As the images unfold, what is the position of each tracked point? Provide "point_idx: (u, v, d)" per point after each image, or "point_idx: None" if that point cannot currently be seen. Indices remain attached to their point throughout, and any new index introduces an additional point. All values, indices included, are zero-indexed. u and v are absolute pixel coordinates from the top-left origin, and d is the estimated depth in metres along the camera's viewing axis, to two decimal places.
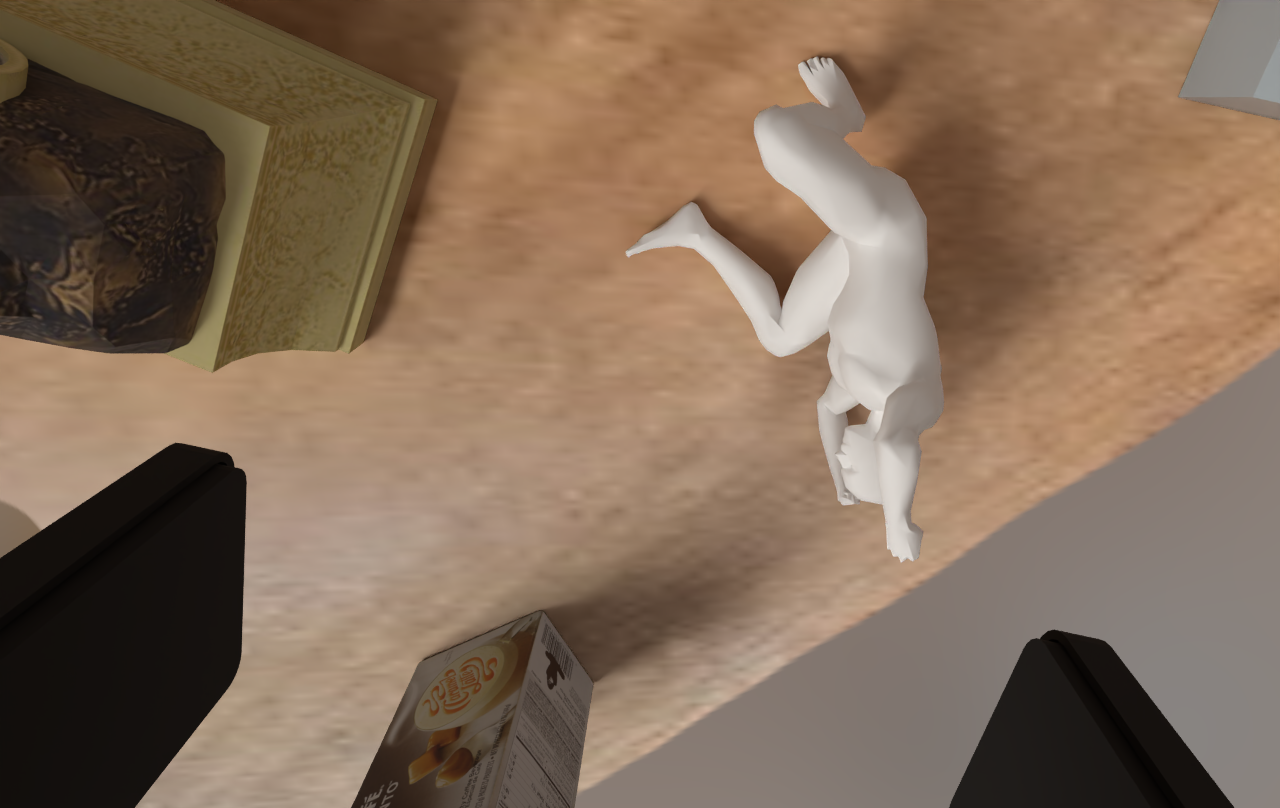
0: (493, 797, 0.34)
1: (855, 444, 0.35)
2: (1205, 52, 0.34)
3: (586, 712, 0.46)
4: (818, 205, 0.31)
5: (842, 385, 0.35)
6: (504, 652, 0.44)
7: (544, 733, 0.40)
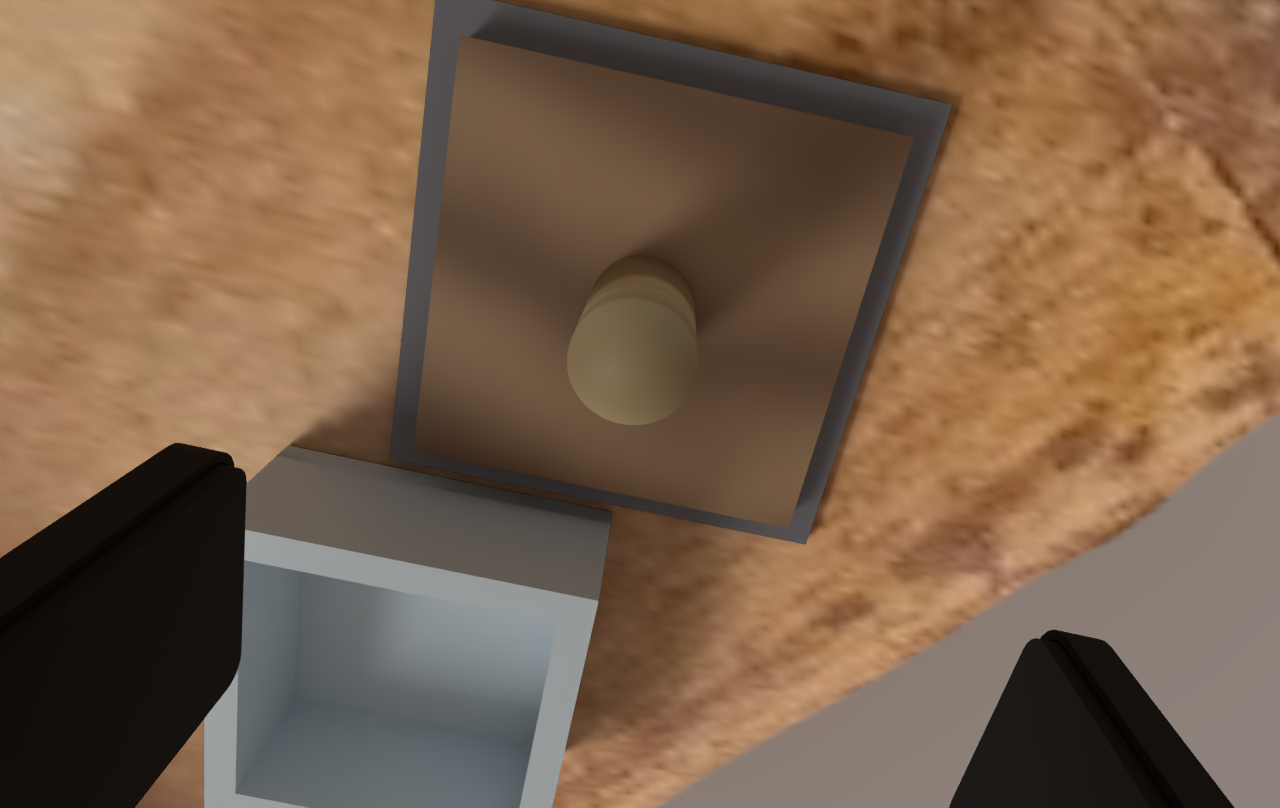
0: None
1: None
2: None
3: None
4: None
5: None
6: None
7: None
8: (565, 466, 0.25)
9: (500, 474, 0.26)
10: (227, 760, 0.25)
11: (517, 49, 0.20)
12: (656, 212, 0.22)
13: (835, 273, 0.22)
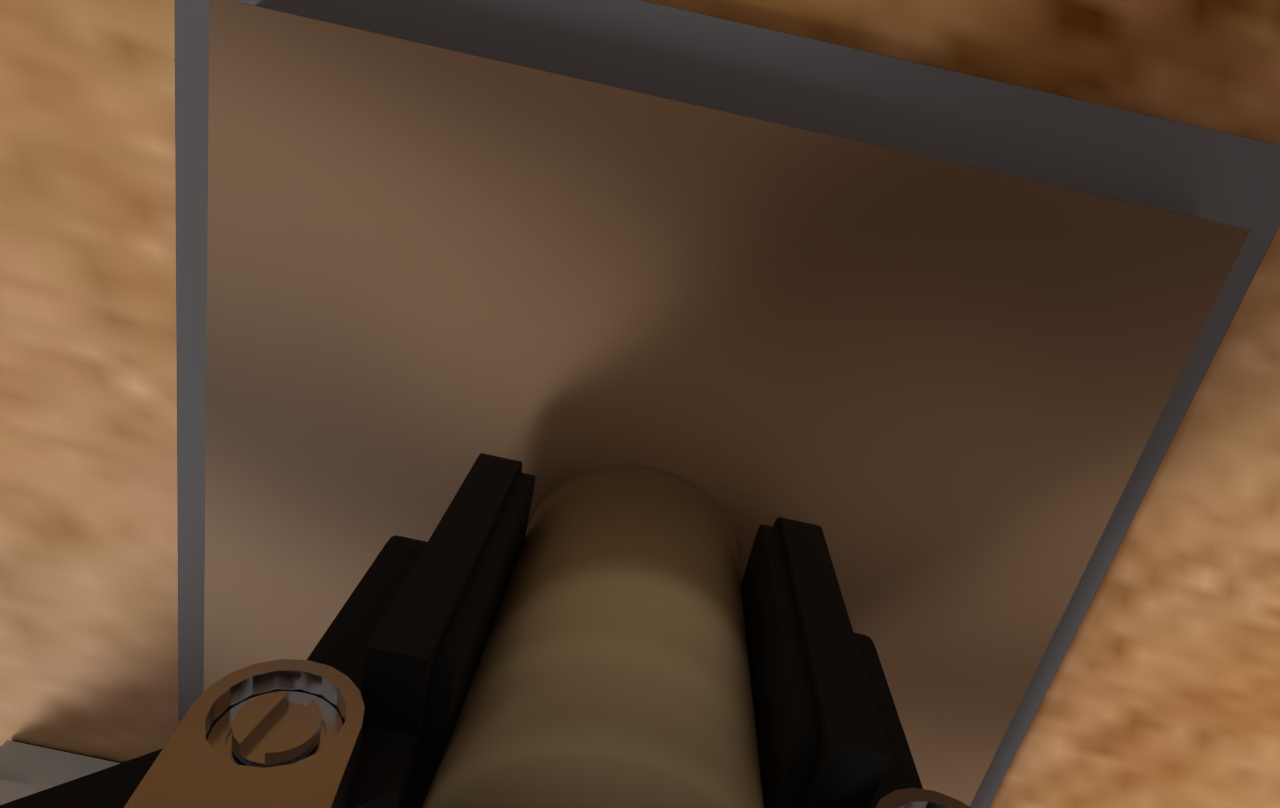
0: None
1: None
2: None
3: None
4: None
5: None
6: None
7: None
8: None
9: None
10: None
11: (342, 29, 0.09)
12: (660, 381, 0.10)
13: (1039, 506, 0.10)
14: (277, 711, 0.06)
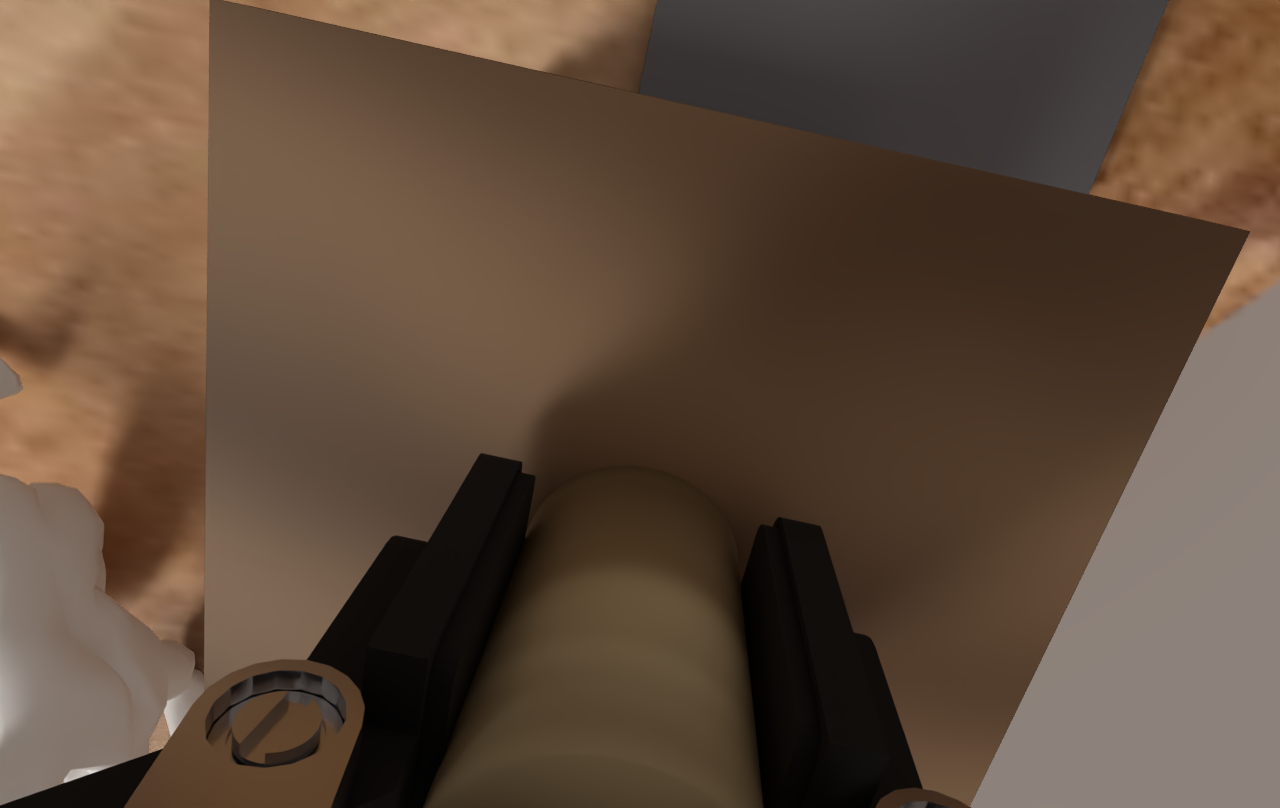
0: None
1: None
2: None
3: None
4: None
5: None
6: None
7: None
8: None
9: (758, 112, 0.24)
10: None
11: (342, 31, 0.09)
12: (660, 382, 0.10)
13: (1039, 507, 0.10)
14: (277, 713, 0.06)
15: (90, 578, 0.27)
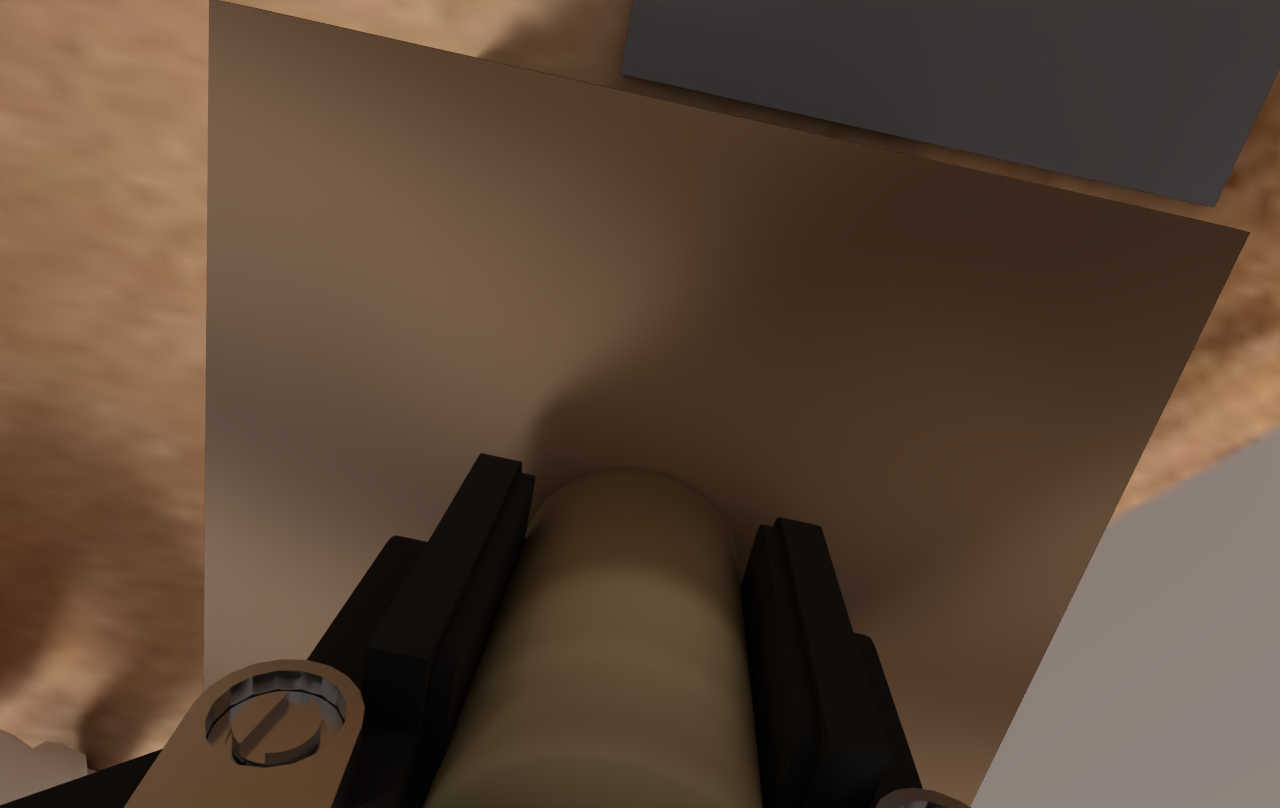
0: None
1: None
2: None
3: None
4: None
5: None
6: None
7: None
8: None
9: (780, 97, 0.18)
10: None
11: (341, 32, 0.09)
12: (660, 383, 0.10)
13: (1040, 507, 0.10)
14: (277, 711, 0.06)
15: None
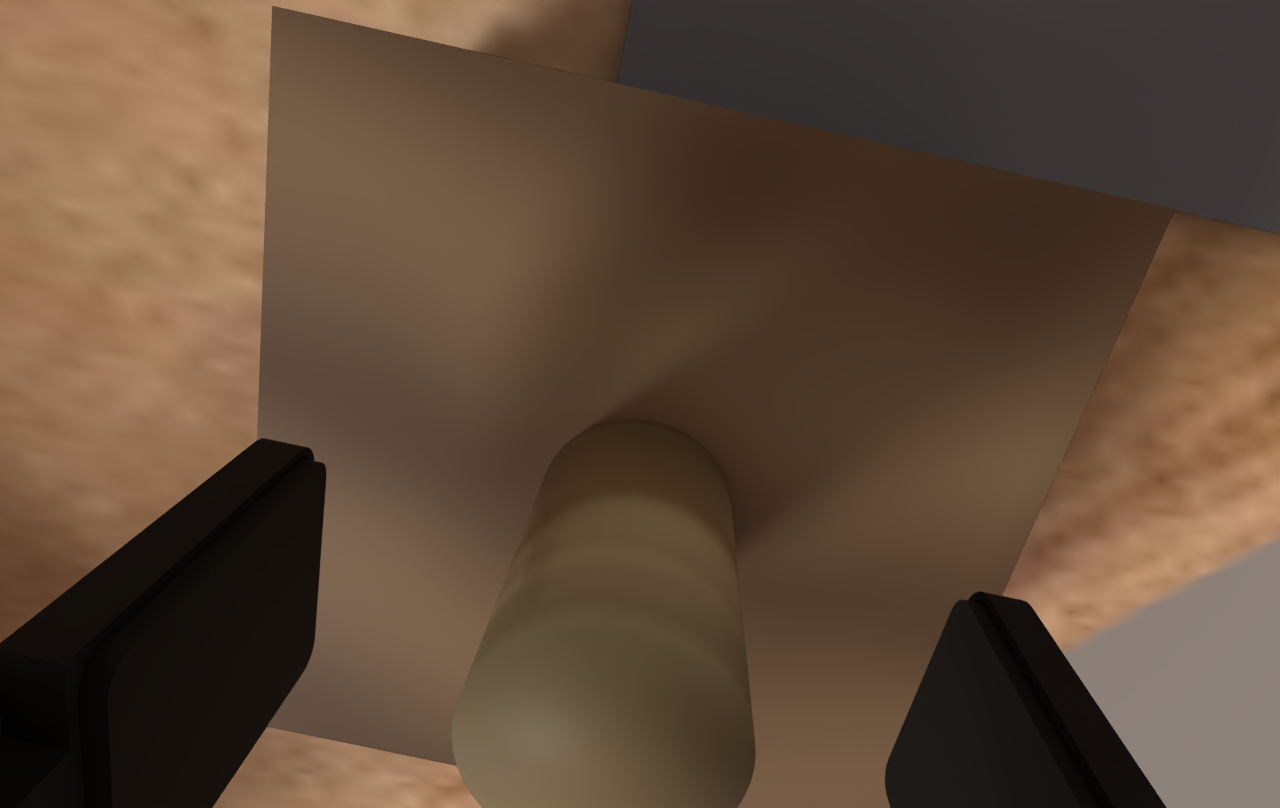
0: None
1: None
2: None
3: None
4: None
5: None
6: None
7: None
8: None
9: (802, 113, 0.16)
10: None
11: (386, 35, 0.10)
12: (662, 344, 0.12)
13: (997, 455, 0.12)
14: None
15: None
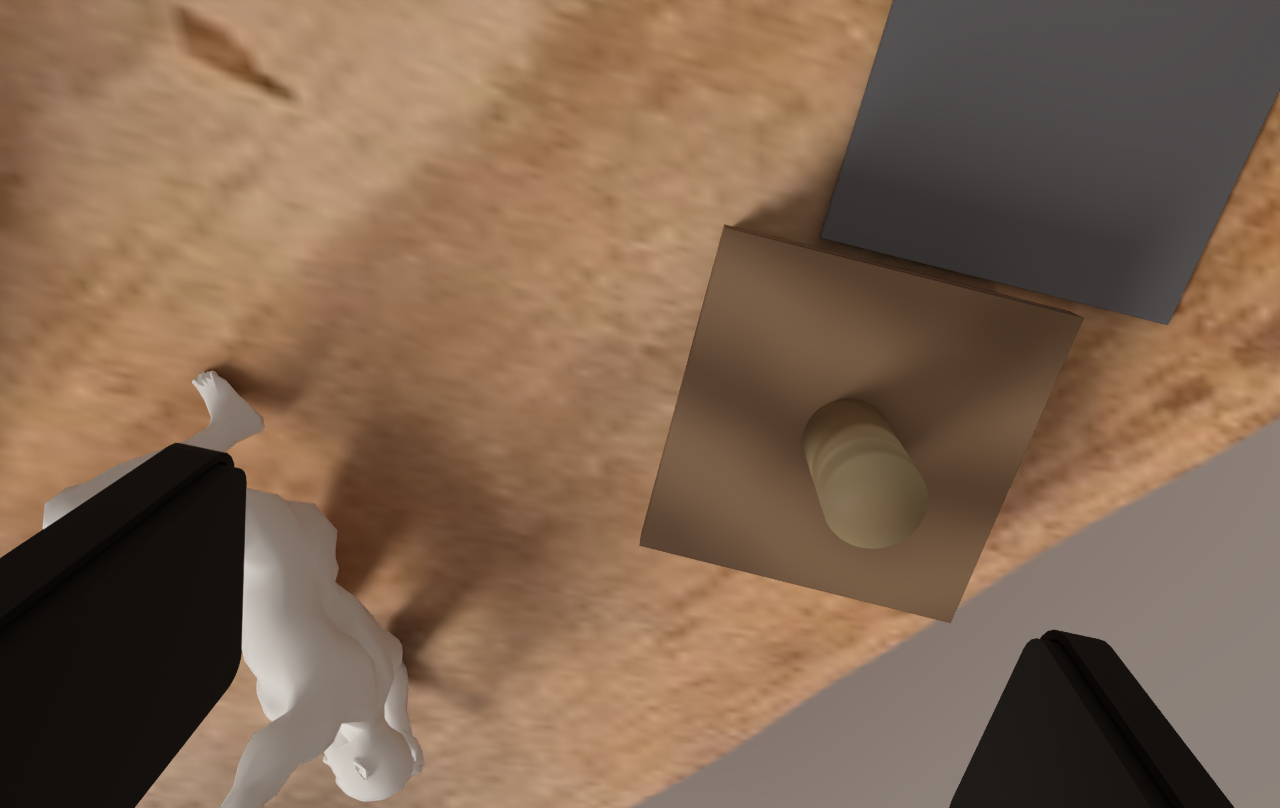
0: None
1: (327, 751, 0.33)
2: None
3: None
4: None
5: None
6: None
7: None
8: (765, 564, 0.30)
9: (913, 254, 0.31)
10: None
11: (769, 240, 0.26)
12: (866, 366, 0.27)
13: (1010, 419, 0.27)
14: None
15: (333, 573, 0.33)
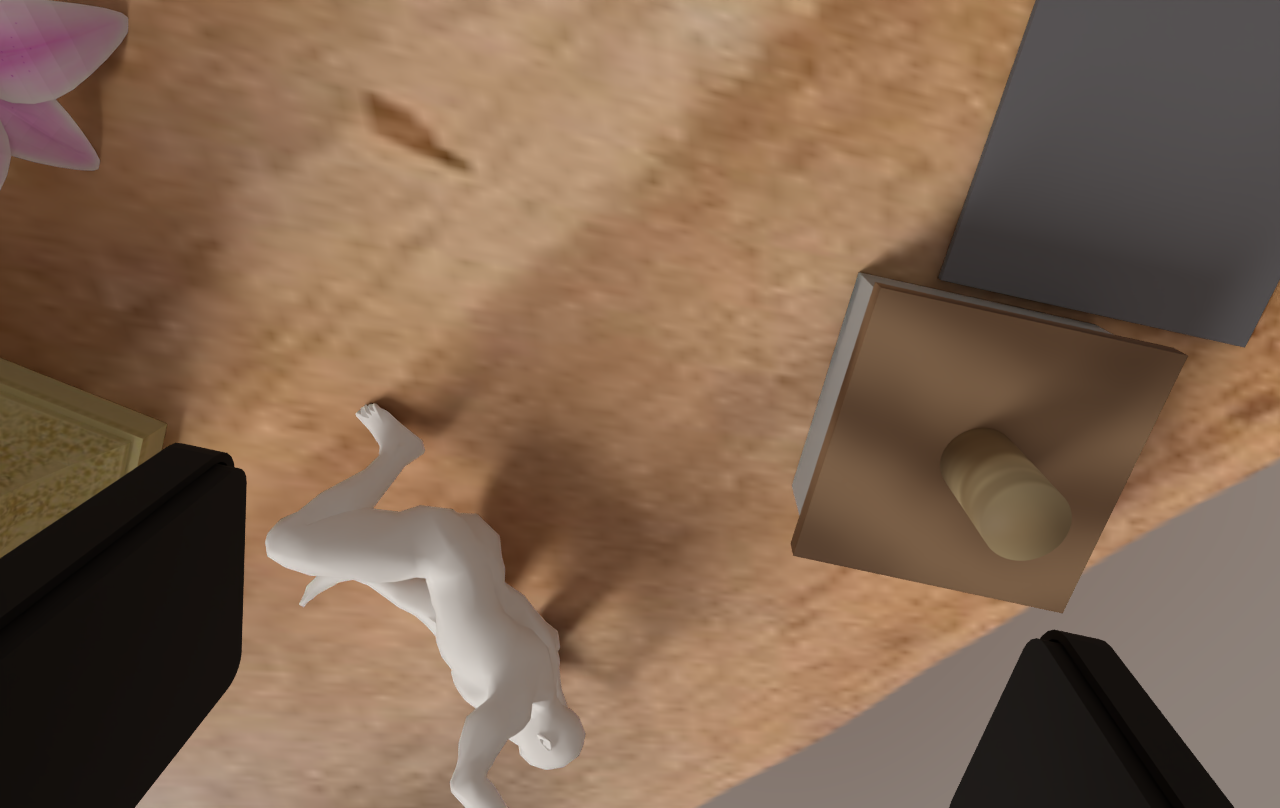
0: None
1: None
2: (803, 458, 0.39)
3: None
4: (355, 579, 0.35)
5: None
6: None
7: None
8: (903, 568, 0.34)
9: (1022, 292, 0.35)
10: None
11: (919, 297, 0.30)
12: (998, 400, 0.31)
13: (1121, 441, 0.32)
14: None
15: (503, 574, 0.38)
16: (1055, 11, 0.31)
